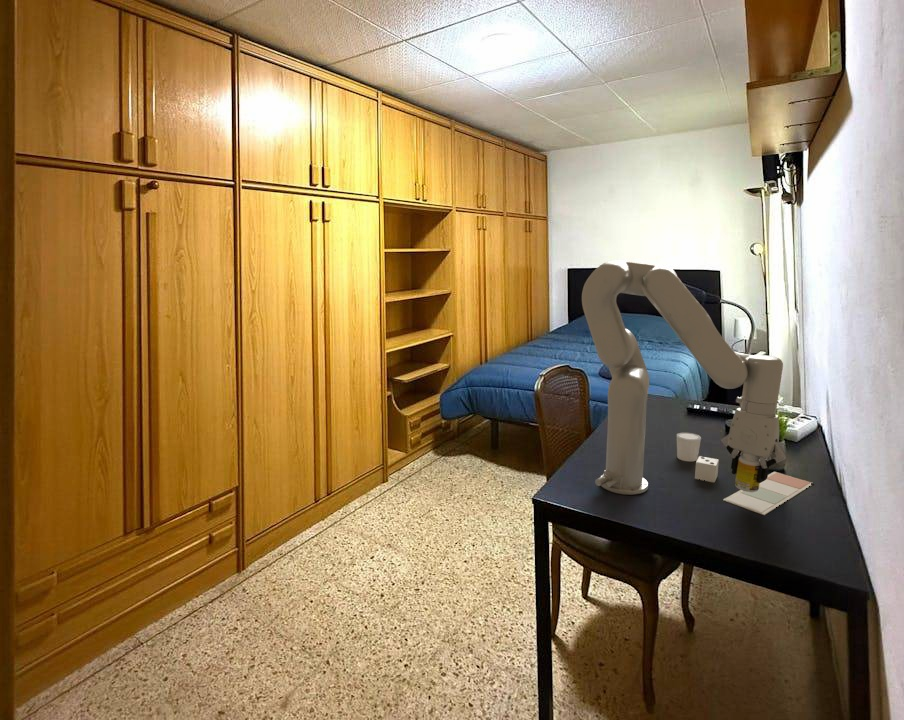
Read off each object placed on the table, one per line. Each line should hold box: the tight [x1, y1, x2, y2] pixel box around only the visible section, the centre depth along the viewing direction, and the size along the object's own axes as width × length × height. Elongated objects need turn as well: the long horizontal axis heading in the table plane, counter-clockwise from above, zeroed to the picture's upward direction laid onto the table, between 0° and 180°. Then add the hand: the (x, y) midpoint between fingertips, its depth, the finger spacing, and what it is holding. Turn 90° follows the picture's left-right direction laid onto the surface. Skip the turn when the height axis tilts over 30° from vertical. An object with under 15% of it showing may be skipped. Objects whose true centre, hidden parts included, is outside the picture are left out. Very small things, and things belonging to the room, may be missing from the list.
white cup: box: [676, 432, 702, 462], centre depth 165 cm, size 7×7×7 cm
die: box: [694, 455, 720, 484], centre depth 152 cm, size 5×5×5 cm
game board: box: [722, 471, 812, 516], centre depth 142 cm, size 28×10×1 cm, turn 126°
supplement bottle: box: [734, 451, 761, 492], centre depth 135 cm, size 5×5×10 cm
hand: (748, 476), depth 135 cm, fingers closed on supplement bottle, 5 cm apart
